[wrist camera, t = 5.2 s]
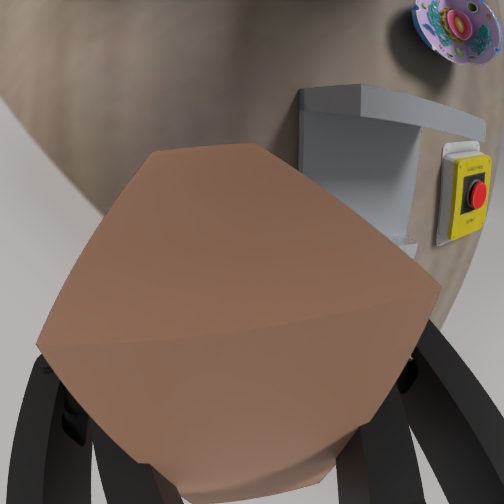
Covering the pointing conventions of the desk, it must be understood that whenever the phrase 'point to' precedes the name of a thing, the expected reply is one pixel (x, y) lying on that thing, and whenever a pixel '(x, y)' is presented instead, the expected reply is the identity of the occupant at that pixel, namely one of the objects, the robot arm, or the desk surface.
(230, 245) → the cabinet block
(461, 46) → the cell model
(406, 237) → the strip
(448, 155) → the emergency button
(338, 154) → the gray bracket stand
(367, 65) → the desk surface
